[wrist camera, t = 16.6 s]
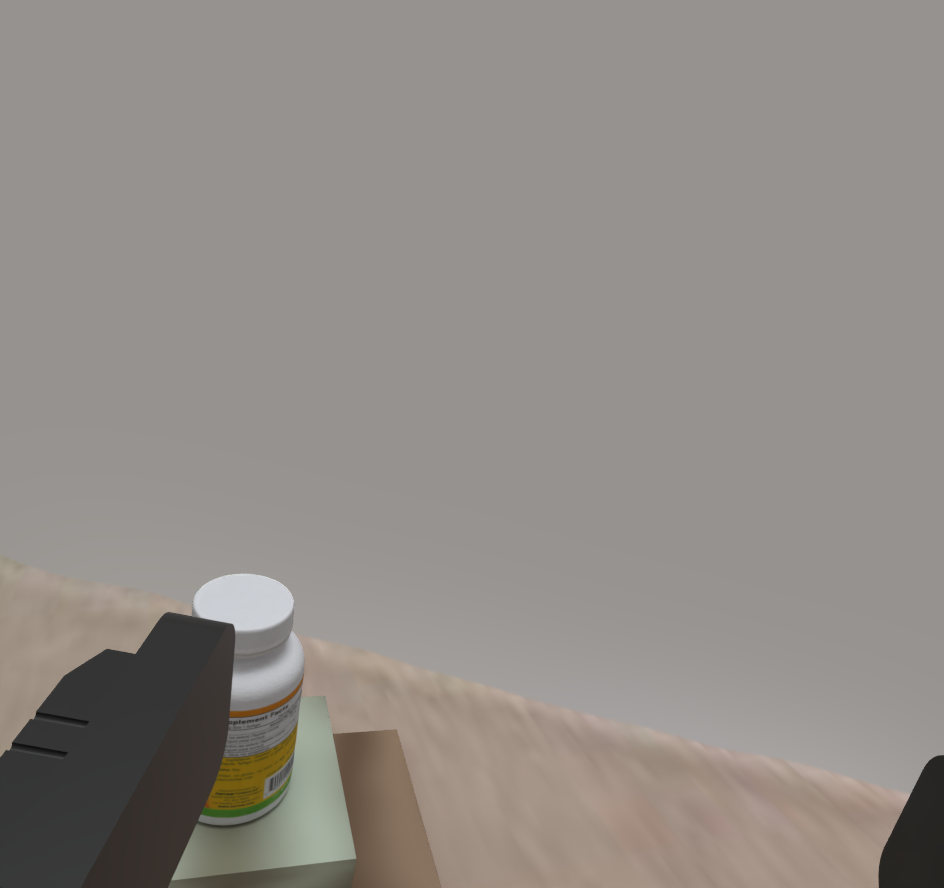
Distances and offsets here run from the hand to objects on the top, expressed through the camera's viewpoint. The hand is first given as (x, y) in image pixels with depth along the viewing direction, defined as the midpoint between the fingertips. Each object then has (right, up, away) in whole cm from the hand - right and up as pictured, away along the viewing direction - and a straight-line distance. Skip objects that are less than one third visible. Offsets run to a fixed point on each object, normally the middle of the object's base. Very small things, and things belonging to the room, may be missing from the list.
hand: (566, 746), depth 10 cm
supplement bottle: (-12, -12, +29) cm, 33 cm away
